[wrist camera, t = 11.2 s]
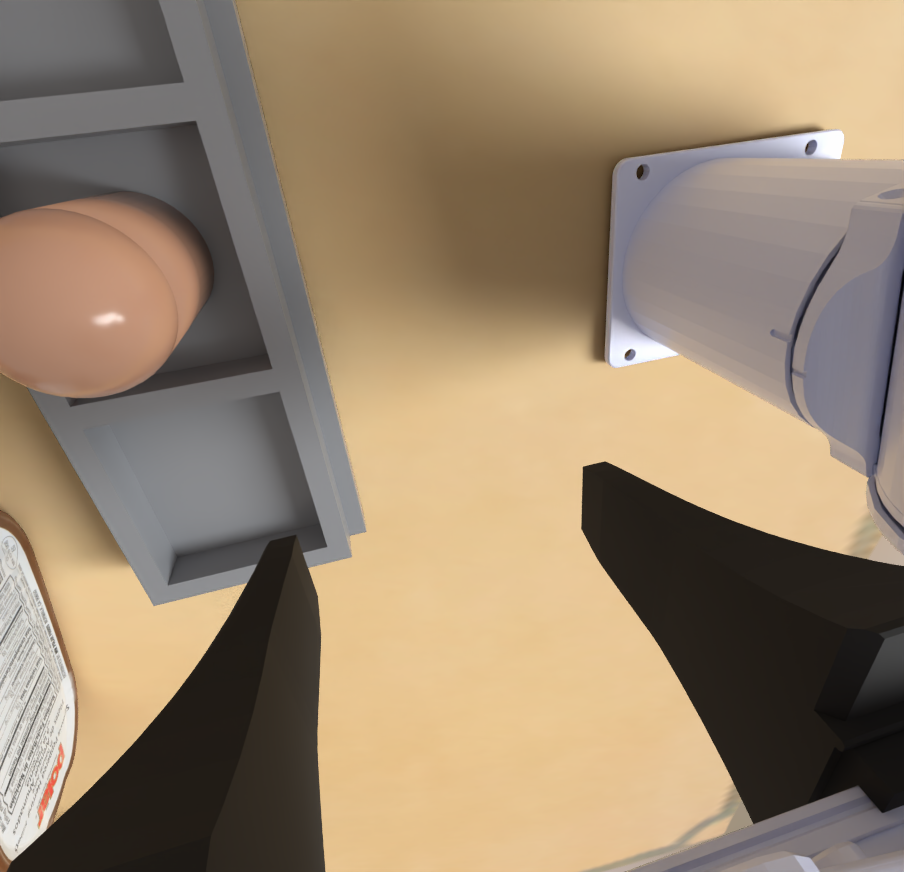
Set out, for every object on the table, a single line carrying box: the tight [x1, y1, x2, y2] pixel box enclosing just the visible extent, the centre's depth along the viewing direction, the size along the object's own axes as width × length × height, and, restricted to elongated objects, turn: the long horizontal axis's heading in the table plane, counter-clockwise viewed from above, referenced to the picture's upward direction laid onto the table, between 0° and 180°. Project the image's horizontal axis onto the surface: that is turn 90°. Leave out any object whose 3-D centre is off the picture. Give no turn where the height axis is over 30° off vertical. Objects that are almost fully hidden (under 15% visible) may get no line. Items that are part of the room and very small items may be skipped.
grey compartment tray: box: [0, 0, 366, 606], centre depth 15 cm, size 9×24×3 cm, turn 6°
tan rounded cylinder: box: [0, 191, 214, 398], centre depth 13 cm, size 4×4×7 cm
